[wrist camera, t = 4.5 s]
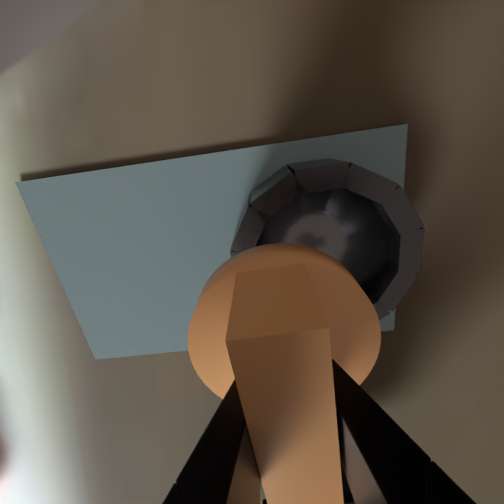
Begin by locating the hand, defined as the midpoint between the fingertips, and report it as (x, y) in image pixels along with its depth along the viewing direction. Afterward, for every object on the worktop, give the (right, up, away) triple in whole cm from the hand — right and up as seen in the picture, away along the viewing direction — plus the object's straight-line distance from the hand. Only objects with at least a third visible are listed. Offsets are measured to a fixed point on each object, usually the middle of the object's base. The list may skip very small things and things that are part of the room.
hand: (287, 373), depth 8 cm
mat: (-3, +3, +12) cm, 12 cm away
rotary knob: (0, +1, +2) cm, 2 cm away
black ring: (+3, +5, +11) cm, 12 cm away
